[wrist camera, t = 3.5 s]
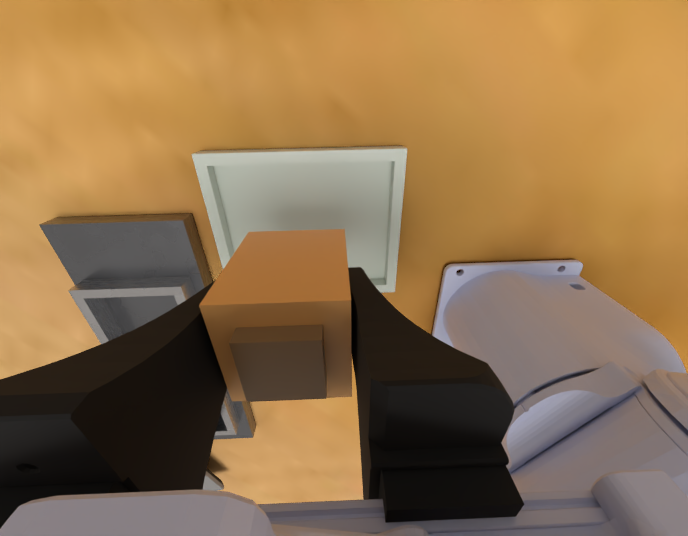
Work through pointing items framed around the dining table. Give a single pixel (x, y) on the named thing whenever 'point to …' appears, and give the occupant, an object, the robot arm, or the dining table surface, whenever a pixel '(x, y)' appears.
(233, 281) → the plug
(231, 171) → the tray
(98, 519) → the robot arm
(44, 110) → the dining table surface
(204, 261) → the pdu strip
